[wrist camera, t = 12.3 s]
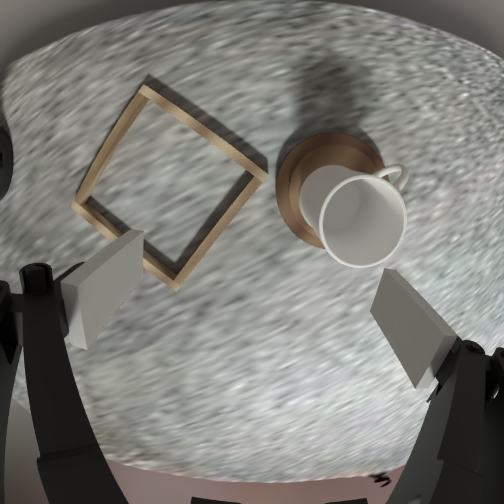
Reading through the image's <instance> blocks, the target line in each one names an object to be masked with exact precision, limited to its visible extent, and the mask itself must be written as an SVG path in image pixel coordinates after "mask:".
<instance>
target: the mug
mask: <svg viewBox="0 0 504 504" xmlns="http://www.w3.org/2000/svg"><path fill="white" fill-rule="evenodd" d="M396 171H402V173H401V175H400V177H399V178H398V180H397V181H396V182H395V183H394V184H393V185H391V184H390V183H389V182H388V181H386V180H384V179H382V178H381V177H383V176H385V175H387V174H389V173H392V172H396ZM408 177H409V172H408V170H407V168H406V167H405V166H404V165H401V164H395V165H390V166H387V167H385V168H383V169H381V170H379V171H377V172H375V173H373V174H372V175H370V174H366V173H361V172H357V171H353V170H350V169H348V168H346V167H343V166H339V165H327V166H323V167H321V168H318V169H317V170H315V171H313V172H312V173H311V174H310V175H309V176H308V177H307V178H306V180H305V181H304V183H303V185H302V187H301V190H300V195H299V206H300V210H301V213H302V215H303V217H304V219H305V220H306V222H307V223H308V224H309V225H310V226H311V227H312V228H313V229H314V231H315V232H316V234H317V236H318V237H319V239H320V240H321V242H322V244H323V245H324V247H325V248H326V250H327V251H328V252H329V254H330V255H331V256H332V257H333V258H334V259H336V260H337V261H339V262H340V263H342V264H344V265H347V266H350V267H355V268H365V267H371V266H374V265H377V264H379V263H381V262H383V261H384V260H386V259H387V258H388V257H389V256H391V255H392V254H393V253H394V251H395V250H396V249H397V248H398V246H399V245H400V243H401V241H402V239H403V236H404V233H405V229H406V222H407V215H406V208H405V205H404V202H403V199H402V197H401V195H400V194H399V192H400V190H401V189H402V188H403V187H404V185H405V184H406V182H407V180H408Z"/></svg>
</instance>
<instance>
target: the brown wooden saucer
mask: <svg viewBox="0 0 504 504" xmlns="http://www.w3.org/2000/svg"><path fill="white" fill-rule="evenodd" d="M327 165H339V166H343V167H346V168H348V169H350V170H353V171H357V172H361V173H366V174H370V175H372V174H373V173H375V172H377V171H379V170H381V169H383V168H385V166H384V164H383V162H382V161H381V159H380V158H379V156H378V155H377V154H376V152H375V151H374V150H373V149H372V148H371V147H370V146H368V145H367V144H366V143H364V142H363V141H361V140H360V139H358V138H355V137H353V136H350V135H347V134H342V133H324V134H320V135H316V136H313V137H310V138H308V139H306V140H304V141H302V142H301V143H299V144H298V145H297V146H295V147H294V148H293V149H292V150H291V151H290V152H289V153H288V155H287V156H286V157H285V159H284V161H283V162H282V164H281V166H280V169H279V172H278V175H277V180H276V198H277V203H278V207H279V210H280V213H281V215H282V217H283V219H284V221H285V223H286V224H287V226H288V227H289V228H290V230H291V231H292V232H293V233H294V234H295V235H296V236H297V237H299V238H300V239H302V240H303V241H305V242H306V243H308V244H310V245H313V246H316V247H319V248H323V249H326V248H325V247H324V245H323V244H322V242H321V240H320V239H319V237H318V236H317V234H316V232H315V231H314V229H313V228H312V227H311V226H310V225H309V224H308V223H307V222H306V220H305V219H304V217H303V215H302V213H301V210H300V206H299V195H300V190H301V187H302V185H303V183H304V181H305V180H306V178H307V177H308V176H309V175H310V174H311V173H312V172H313V171H315V170H317V169H318V168H321V167H323V166H327ZM381 178H382V179H384V180H386V181H388V182H389V179H388V174H387V175H385V176H383V177H381Z"/></svg>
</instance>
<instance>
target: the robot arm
mask: <svg viewBox="0 0 504 504" xmlns="http://www.w3.org/2000/svg"><path fill="white" fill-rule="evenodd" d="M12 171H13V152H12V146H11V142H10V139H9V137H8V135H7V133H6V132H5V130H4V129H3V128H1V127H0V200H1V199H2V198H3V197H4V196H5V194H6V192H7V190H8V188H9V185H10V182H11V177H12ZM143 240H144V231H140V230H133V229H130V230H129V231H128V232H126V233H125V234H123V235H122V236H120V237H119V238H118V239H116V240H115V241H113V242H112V243H111V244H109V245H108V246H106V247H105V248H104V249H102V250H101V251H100V252H98V253H97V254H96V255H94V256H93V257H92V258H90V259H89V260H88V261H86V262H81V263H79V264H76V265H74V266H72V267H71V268H70V269H68V271H66V272H64V273H63V275H60V276H59V277H58V278H57V279H55V280H54V281H53V276H52V268H51V266H50V265H48V264H46V263H32V264H29V265H26V266H24V267H23V268H21V269H20V271H19V275H20V281H21V286H22V292H23V294H14V293H11V292H10V287H9V284H8V283H7V282H6V281H1V280H0V504H4V461H5V444H6V433H7V424H8V416H9V408H10V402H11V396H12V391H13V386H14V381H15V376H16V371H17V367H18V362H19V358H20V354H21V350H22V347H23V351H24V364H25V374H26V383H27V391H28V397H29V404H30V410H31V415H32V420H33V425H34V429H35V434H36V438H37V443H38V447H39V451H40V458H37V466H38V471H39V474H40V477H41V480H42V484H43V487H44V490H45V493H46V495H47V498H48V501H49V504H129V503H128V501H127V500H126V498H125V496H124V495H123V493H122V491H121V489H120V487H119V485H118V483H117V482H116V480H115V478H114V476H113V474H112V472H111V470H110V468H109V466H108V464H107V462H106V460H105V458H104V455H103V453H102V451H101V449H100V447H99V444H98V442H97V440H96V437H95V435H94V432H93V430H92V428H91V425H90V422H89V420H88V417H87V415H86V412H85V409H84V406H83V404H82V401H81V398H80V395H79V392H78V389H77V385H76V382H75V379H74V376H73V372H72V369H71V365H70V362H69V358H68V354H67V350H66V346H65V342H64V338H65V337H66V336H67V334H68V333H69V336H70V340H71V345H73V346H76V347H80V348H83V349H86V350H88V349H89V347H90V346H91V345H92V343H93V342H94V341H95V339H96V338H97V336H98V335H99V334H100V332H101V331H102V330H103V328H104V327H105V326H106V325H107V323H108V322H109V321H110V319H111V318H112V317H113V315H114V314H115V313H116V312H117V310H118V309H119V308H120V306H121V305H122V304H123V303H124V301H125V300H126V299H127V298H128V296H129V295H130V294H131V292H132V291H133V290H134V289H135V288H136V286H137V285H138V284H139V283H140V281H141V280H142V279H143ZM370 312H371V314H372V315H373V317H374V319H375V320H376V322H377V324H378V325H379V327H380V328H381V330H382V332H383V333H384V335H385V337H386V338H387V340H388V342H389V344H390V345H391V347H392V349H393V350H394V352H395V354H396V355H397V357H398V359H399V361H400V362H401V364H402V366H403V368H404V369H405V371H406V373H407V375H408V377H409V378H410V380H411V382H412V384H413V386H414V388H415V389H421V388H429V386H430V385H431V383H432V381H433V380H434V378H435V377H436V379H437V380H438V382H439V383H438V385H437V386H436V388H435V389H434V391H433V392H432V394H431V395H430V397H429V398H428V400H427V401H426V402H429V401H430V400H431V402H430V405H429V408H428V411H427V414H426V417H425V419H424V422H423V425H422V428H421V430H420V433H419V435H418V438H417V440H416V443H415V445H414V448H413V450H412V452H411V455H410V457H409V459H408V461H407V463H406V466H405V468H404V470H403V472H402V474H401V476H400V478H399V480H398V482H397V484H396V486H395V488H394V490H393V492H392V494H391V495H390V497H389V499H388V501H387V502H386V504H504V348H502V347H498V348H496V350H495V352H494V354H493V355H492V356H488V355H485V351H484V349H483V348H482V347H481V346H480V345H479V344H477V343H476V342H473V341H470V340H463V341H462V340H461V339H460V337H459V336H458V335H457V334H456V333H455V332H454V331H453V329H452V328H451V327H450V326H449V325H448V324H447V323H446V322H445V321H444V319H443V318H442V317H441V316H440V315H439V314H438V313H437V312H436V311H435V310H434V309H433V308H432V307H431V306H430V304H429V303H428V302H427V301H426V300H425V299H424V298H423V297H422V296H421V295H420V294H419V293H418V292H417V291H416V290H415V289H414V288H413V287H412V286H411V285H410V284H409V283H408V282H407V281H406V280H405V279H404V278H403V277H402V276H401V275H400V274H399V273H398V272H397V271H396V270H392V269H386V268H384V271H383V275H382V278H381V281H380V284H379V287H378V290H377V293H376V296H375V298H374V301H373V304H372V307H371V310H370ZM497 391H498V393H497ZM496 393H497V395H496V397H495V398H494V395H495V394H496ZM475 471H476V472H475ZM191 504H241V503H236V502H225V501H217V500H209V499H203V498H196V497H192V499H191ZM326 504H368V503H367V498H363V499H357V500H349V501H341V502H330V503H326Z"/></svg>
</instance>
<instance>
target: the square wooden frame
mask: <svg viewBox="0 0 504 504" xmlns="http://www.w3.org/2000/svg"><path fill="white" fill-rule="evenodd" d="M149 99H150V100H151V101H153V102H154V103H156V104H157V105H159V106H160V107H162V108H163V109H164V110H166V111H167V112H169V113H170V114H172V115H173V116H174V117H176V118H177V119H179V120H180V121H182V122H183V123H184V124H186V125H187V126H189V127H190V128H191V129H193V130H194V131H195V132H197V133H198V134H200V135H201V136H202V137H204V138H205V139H206V140H208V141H209V142H210V143H212V144H213V145H215V146H216V147H217V148H219V149H220V150H221V151H223V152H224V153H225V154H226V155H228V156H229V157H230V158H232V159H233V160H234V161H236V162H237V163H238V164H240V165H241V166H242V167H243V168H245V169H246V170H247V171H249V172H250V173H251V174H252V175H254V177H253V178H252V179H251V181H250V182H249V183H248V184H247V186H246V187H245V188H244V189H243V191H242V192H241V193H240V194H239V196H238V197H237V198H236V199H235V201H234V202H233V203H232V204H231V206H230V207H229V208H228V209H227V211H226V212H225V213H224V214H223V216H222V217H221V218H220V220H219V221H218V222H217V223H216V225H215V226H214V227H213V229H212V230H211V231H210V232H209V234H208V235H207V236H206V238H205V239H204V240H203V242H202V243H201V244H200V246H199V247H198V248H197V249H196V251H195V252H194V253H193V255H192V256H191V257H190V259H189V260H188V261H187V263H186V264H185V265H184V267H183V268H182V269H181V271H180V272H179V273H178V275H176V274H175V273H174V272H172V271H171V270H170V269H169V268H167V267H166V266H165V265H163V264H162V263H161V262H159V261H158V260H157V259H155V258H154V257H153V256H152V255H150V254H149V253H148V252H146V251H145V250H144V249H143V267H144V268H145V269H147V270H148V271H149V272H150V273H152V274H153V275H154V276H156V277H157V278H158V279H160V280H161V281H162V282H164V283H165V284H166V285H168V286H169V287H170V288H172V289H173V290H174V291H177V290H178V288H179V287H180V286H181V284H182V283H183V282H184V281H185V279H186V278H187V277H188V275H189V274H190V273H191V271H192V270H193V269H194V267H195V266H196V265H197V264H198V262H199V261H200V260H201V258H202V257H203V256H204V255H205V253H206V252H207V251H208V249H209V248H210V247H211V246H212V244H213V243H214V242H215V240H216V239H217V238H218V237H219V235H220V234H221V233H222V232H223V230H224V229H225V228H226V227H227V225H228V224H229V223H230V222H231V220H232V219H233V218H234V217H235V215H236V214H237V213H238V212H239V210H240V209H241V208H242V207H243V205H244V204H245V203H246V202H247V200H248V199H249V198H250V197H251V196H252V194H253V193H254V192H255V191H256V189H257V188H258V187H259V186H260V185H261V183H262V182H263V181H264V180H265V178H266V177H267V176H268V173H267V172H265V171H264V170H263V169H262V168H260V167H259V166H258V165H257V164H255V163H254V162H253V161H252V160H250V159H249V158H248V157H246V156H245V155H244V154H242V153H241V152H240V151H239V150H237V149H236V148H235V147H233V146H232V145H231V144H229V143H228V142H227V141H225V140H224V139H223V138H221V137H220V136H219V135H217V134H216V133H215V132H213V131H212V130H210V129H209V128H208V127H206V126H205V125H204V124H202V123H201V122H199V121H198V120H197V119H195V118H194V117H192V116H191V115H189V114H188V113H187V112H185V111H184V110H182V109H181V108H179V107H178V106H177V105H175V104H174V103H172V102H171V101H169V100H168V99H166V98H165V97H163V96H162V95H160V94H159V93H157V92H156V91H154V90H153V89H151V88H150V87H148V86H146V85H144V84H143V86H142V87H141V88H140V90H139V91H138V93H137V94H136V95H135V97H134V98H133V100H132V101H131V103H130V104H129V105H128V107H127V108H126V110H125V111H124V113H123V114H122V116H121V117H120V119H119V120H118V122H117V124H116V125H115V127H114V128H113V130H112V132H111V133H110V135H109V136H108V138H107V140H106V141H105V143H104V145H103V147H102V148H101V150H100V152H99V153H98V155H97V157H96V159H95V161H94V162H93V164H92V166H91V168H90V170H89V172H88V174H87V175H86V177H85V179H84V181H83V183H82V185H81V187H80V189H79V191H78V193H77V195H76V198H75V200H74V202H73V204H72V206H71V207H72V208H73V209H74V210H75V211H76V212H77V213H78V214H80V215H81V216H82V217H83V218H84V219H85V220H86V221H88V222H89V223H90V224H91V225H92V226H93V227H95V228H96V229H97V230H98V231H99V232H101V233H102V234H103V235H104V236H105V237H107V238H108V239H109V240H110V241H111V242H113V241H115V240H116V239H118V238H119V237H120V236H122V235H123V234H124V233H122V232H121V231H120V230H119V229H118V228H116V227H115V226H114V225H113V224H111V223H110V222H109V221H108V220H107V219H105V218H104V217H103V216H102V215H101V214H99V213H98V212H97V211H96V210H95V209H93V208H92V207H91V206H90V205H89V204H88V203H86V202H87V200H88V198H89V196H90V195H91V193H92V191H93V189H94V187H95V185H96V183H97V181H98V179H99V178H100V176H101V174H102V172H103V170H104V169H105V167H106V165H107V163H108V162H109V160H110V158H111V157H112V155H113V153H114V152H115V150H116V148H117V147H118V145H119V143H120V142H121V140H122V139H123V137H124V135H125V134H126V132H127V131H128V129H129V128H130V126H131V125H132V123H133V122H134V120H135V119H136V117H137V116H138V114H139V113H140V112H141V110H142V109H143V107H144V106H145V104H146V103H147V102H148V100H149Z"/></svg>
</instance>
